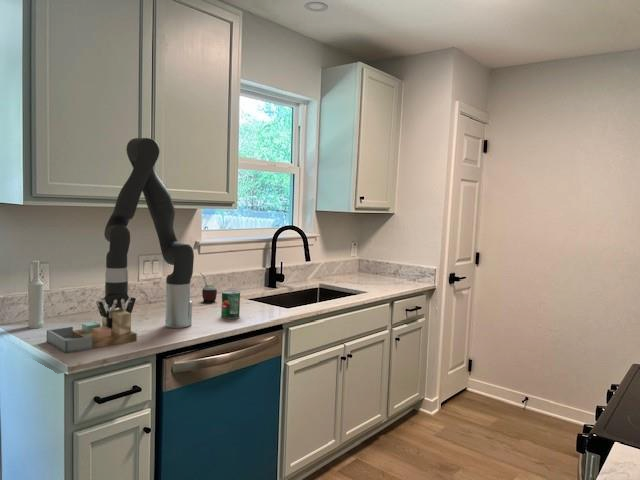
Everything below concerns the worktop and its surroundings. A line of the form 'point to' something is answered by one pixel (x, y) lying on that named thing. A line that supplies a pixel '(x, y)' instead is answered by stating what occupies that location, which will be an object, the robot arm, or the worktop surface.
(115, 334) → the board
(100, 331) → the tile
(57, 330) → the box
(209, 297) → the mate gourd
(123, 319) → the cream wooden beam
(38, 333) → the worktop surface
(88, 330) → the tile
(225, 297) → the canned tomato
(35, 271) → the bottle
